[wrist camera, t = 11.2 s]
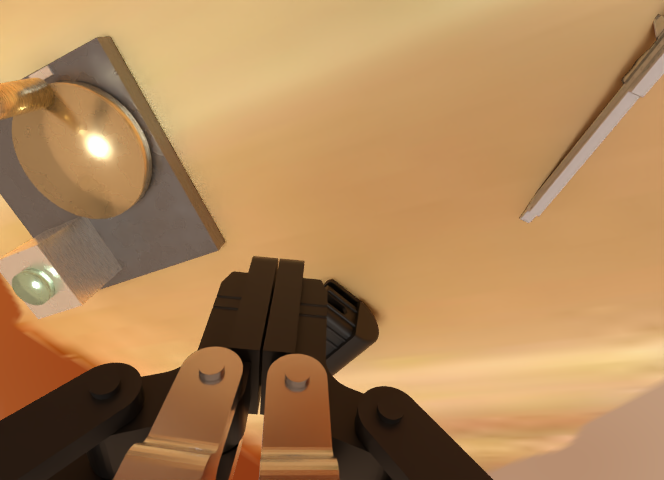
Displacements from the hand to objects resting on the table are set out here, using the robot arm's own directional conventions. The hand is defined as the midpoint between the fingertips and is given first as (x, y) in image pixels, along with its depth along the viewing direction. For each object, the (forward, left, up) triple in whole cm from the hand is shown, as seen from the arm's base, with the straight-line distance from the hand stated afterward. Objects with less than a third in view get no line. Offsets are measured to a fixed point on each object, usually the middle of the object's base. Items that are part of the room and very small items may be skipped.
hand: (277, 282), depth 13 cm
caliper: (+8, +18, -30) cm, 36 cm away
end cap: (+21, -12, -30) cm, 39 cm away
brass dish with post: (-6, -26, -27) cm, 38 cm away
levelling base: (-3, -29, -30) cm, 42 cm away
